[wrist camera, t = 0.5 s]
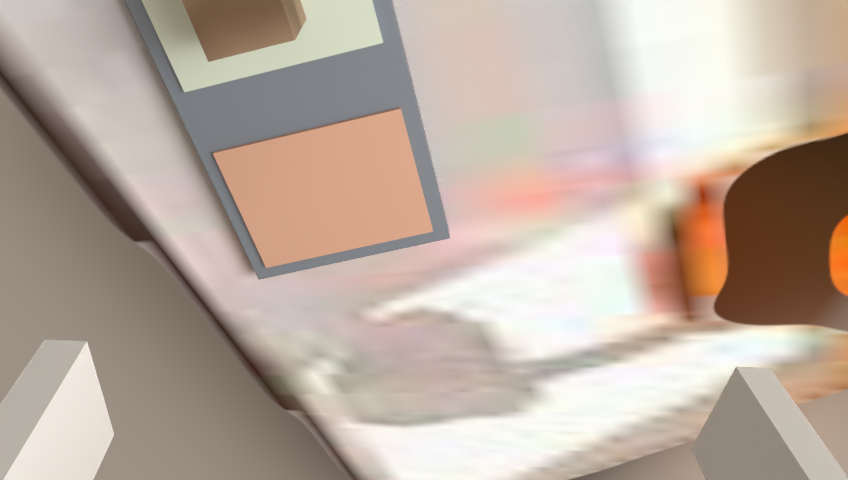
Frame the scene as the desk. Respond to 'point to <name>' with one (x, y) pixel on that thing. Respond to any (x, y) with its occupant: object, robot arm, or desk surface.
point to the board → (306, 134)
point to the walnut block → (243, 24)
